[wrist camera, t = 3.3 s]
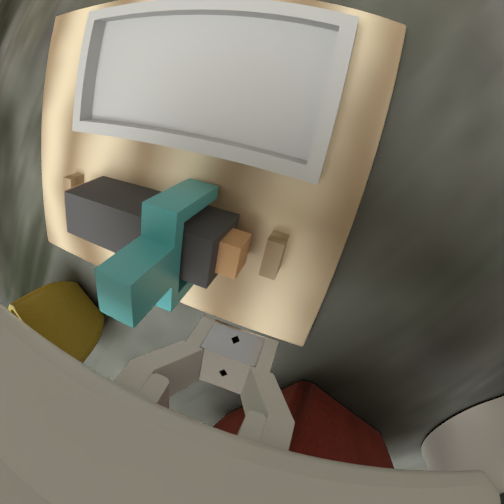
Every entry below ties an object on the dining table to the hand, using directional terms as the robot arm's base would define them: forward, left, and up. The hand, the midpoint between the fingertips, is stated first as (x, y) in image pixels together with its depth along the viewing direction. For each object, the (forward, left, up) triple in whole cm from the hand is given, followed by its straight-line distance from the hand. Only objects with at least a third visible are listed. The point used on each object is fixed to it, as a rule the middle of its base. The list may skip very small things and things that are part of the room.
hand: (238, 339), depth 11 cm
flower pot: (+20, +15, -10) cm, 27 cm away
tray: (+8, -9, -8) cm, 15 cm away
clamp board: (+10, -4, -10) cm, 14 cm away
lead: (+9, 0, -8) cm, 12 cm away
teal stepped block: (+6, 0, -8) cm, 10 cm away
